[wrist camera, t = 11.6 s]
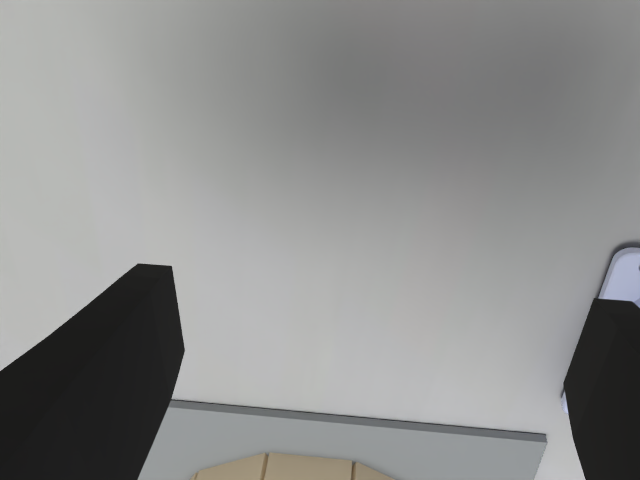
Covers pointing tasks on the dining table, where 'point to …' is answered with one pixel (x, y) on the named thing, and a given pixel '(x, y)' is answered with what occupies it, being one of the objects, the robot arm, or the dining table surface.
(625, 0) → the dining table surface
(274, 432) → the bead board
